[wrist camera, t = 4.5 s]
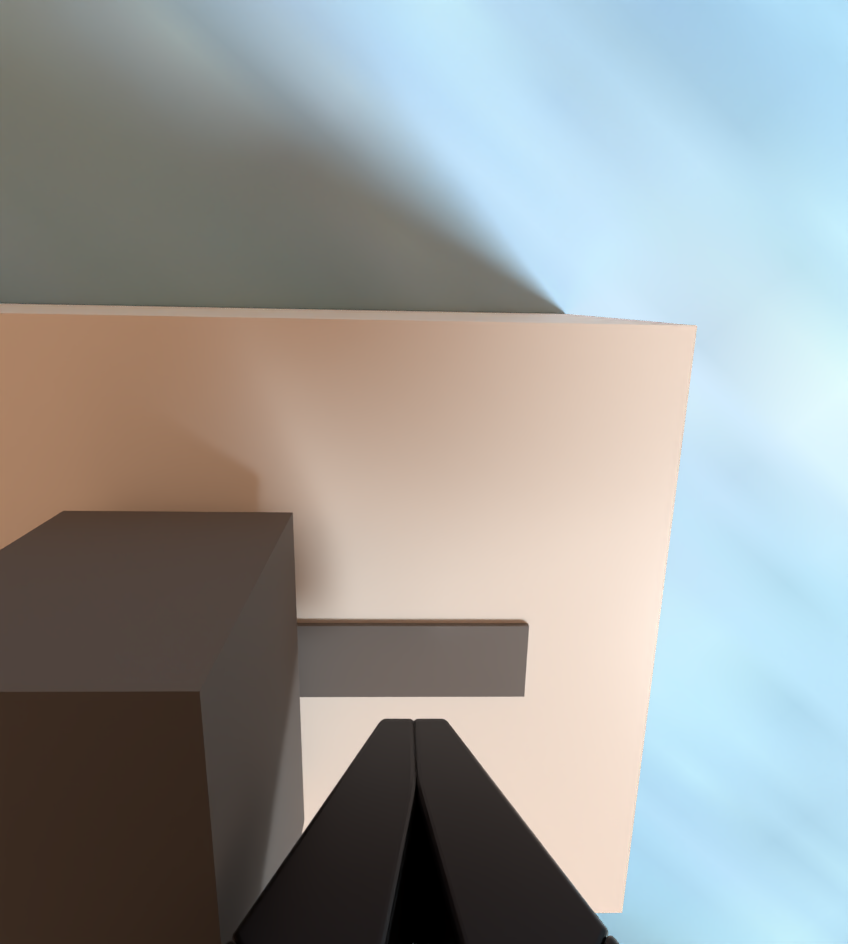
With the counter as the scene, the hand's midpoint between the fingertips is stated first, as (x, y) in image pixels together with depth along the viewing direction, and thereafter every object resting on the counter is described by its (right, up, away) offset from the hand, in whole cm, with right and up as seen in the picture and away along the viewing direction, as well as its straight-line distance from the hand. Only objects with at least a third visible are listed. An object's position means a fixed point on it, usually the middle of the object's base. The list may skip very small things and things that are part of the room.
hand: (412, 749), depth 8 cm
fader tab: (-3, +1, +1) cm, 4 cm away
